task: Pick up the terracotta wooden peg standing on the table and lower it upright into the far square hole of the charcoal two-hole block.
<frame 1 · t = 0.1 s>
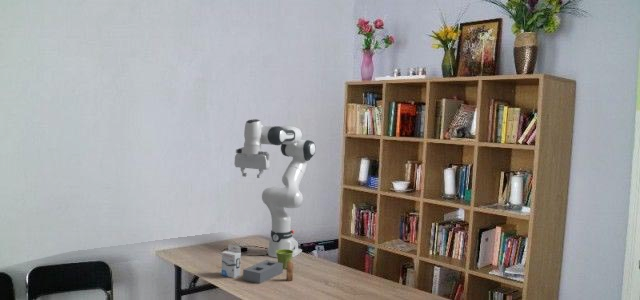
hand: (251, 177, 246), 48 cm above the table, tool pointing down, fingers open, 8 cm apart
plant pot: (284, 267, 251), on the table
ink box: (230, 275, 234), on the table
hole block: (263, 276, 235), on the table
peg: (289, 280, 230), on the table
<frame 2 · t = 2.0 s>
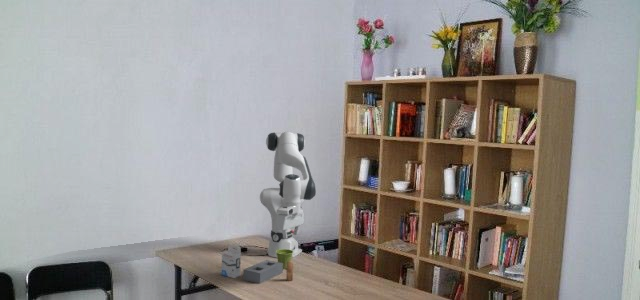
hand: (290, 236, 229), 22 cm above the table, tool pointing down, fingers open, 8 cm apart
nothing on the table moved.
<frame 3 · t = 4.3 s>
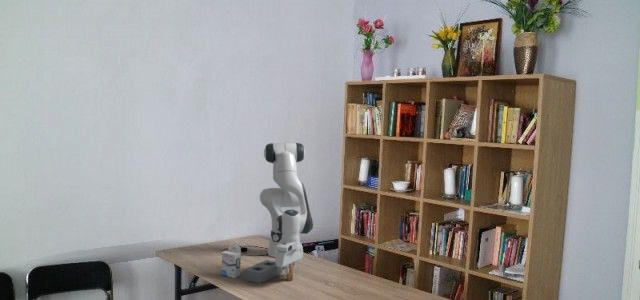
hand: (289, 271, 230), 4 cm above the table, tool pointing down, fingers closed on peg, 3 cm apart
peg: (289, 280, 230), on the table, touching gripper
everything else where it was.
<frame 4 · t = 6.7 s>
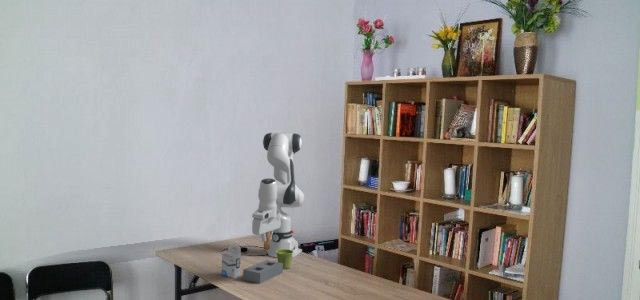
hand: (266, 240, 230), 19 cm above the table, tool pointing down, fingers closed on peg, 3 cm apart
peg: (266, 248, 230), point 15 cm above the table, touching gripper
everything else where it was.
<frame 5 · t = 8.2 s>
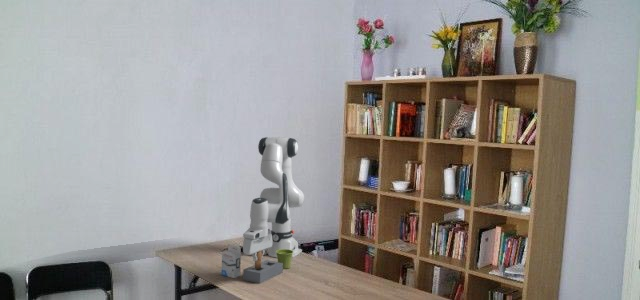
hand: (258, 259, 230), 9 cm above the table, tool pointing down, fingers closed on peg, 3 cm apart
peg: (257, 268, 230), point 5 cm above the table, touching gripper
everything else where it was.
when the fingers open (6 cm above the table, at t = 9.2 s): peg drops 2 cm, resting in hole block.
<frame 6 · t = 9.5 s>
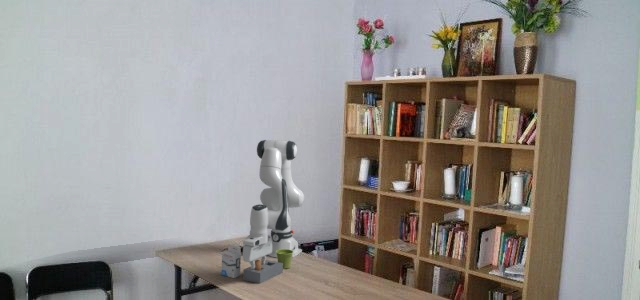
hand: (257, 266, 230), 6 cm above the table, tool pointing down, fingers open, 6 cm apart
peg: (257, 278, 231), resting in hole block
everything else where it was.
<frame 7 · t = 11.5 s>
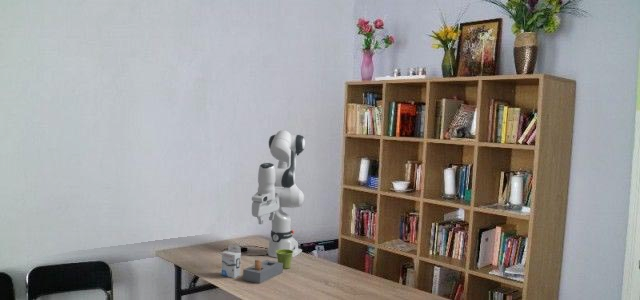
hand: (266, 222, 241), 26 cm above the table, tool pointing down, fingers open, 8 cm apart
nothing on the table moved.
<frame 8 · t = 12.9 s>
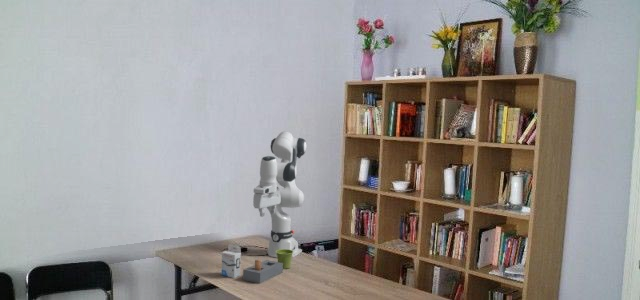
hand: (267, 214, 243), 29 cm above the table, tool pointing down, fingers open, 8 cm apart
nothing on the table moved.
at the end: peg 0.0 cm from the target spot on the hole block, point 0.0 cm above the hole block's base; peg tilted 0°; the gripper is holding nothing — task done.
